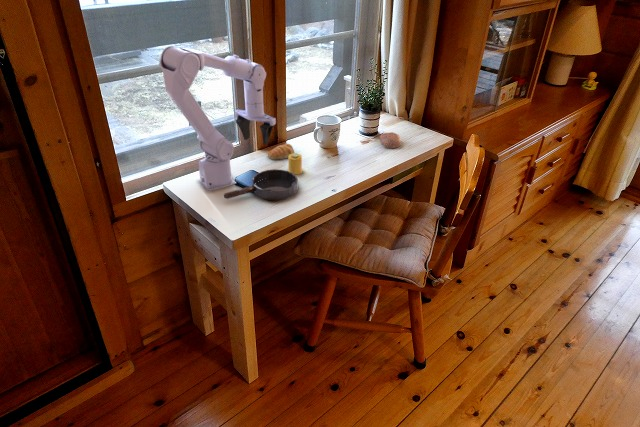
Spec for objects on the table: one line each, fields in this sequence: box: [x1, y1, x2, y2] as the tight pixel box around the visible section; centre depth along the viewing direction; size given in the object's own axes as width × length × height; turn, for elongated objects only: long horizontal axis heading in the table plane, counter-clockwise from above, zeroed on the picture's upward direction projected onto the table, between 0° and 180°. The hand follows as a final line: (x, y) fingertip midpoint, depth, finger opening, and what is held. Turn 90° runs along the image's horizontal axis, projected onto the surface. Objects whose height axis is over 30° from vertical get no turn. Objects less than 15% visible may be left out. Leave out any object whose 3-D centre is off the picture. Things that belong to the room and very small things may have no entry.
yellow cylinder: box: [287, 152, 303, 176], centre depth 156 cm, size 4×4×7 cm
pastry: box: [267, 143, 296, 161], centre depth 167 cm, size 9×7×4 cm
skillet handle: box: [223, 185, 256, 200], centre depth 141 cm, size 11×2×2 cm, turn 122°
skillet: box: [251, 168, 299, 202], centre depth 147 cm, size 14×14×4 cm
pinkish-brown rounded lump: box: [379, 132, 402, 149], centre depth 178 cm, size 8×6×8 cm
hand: (256, 141), depth 156 cm, fingers open, 7 cm apart
